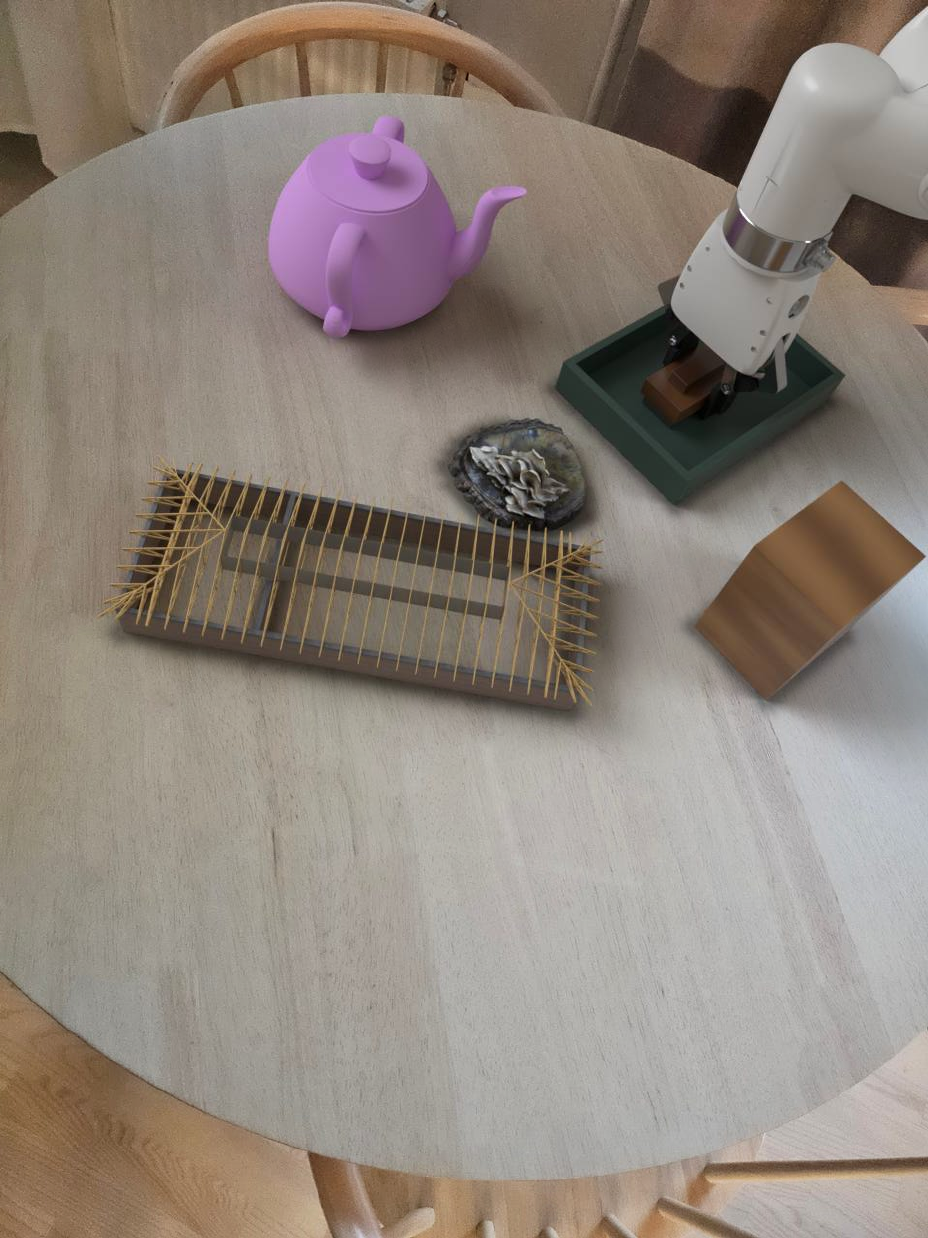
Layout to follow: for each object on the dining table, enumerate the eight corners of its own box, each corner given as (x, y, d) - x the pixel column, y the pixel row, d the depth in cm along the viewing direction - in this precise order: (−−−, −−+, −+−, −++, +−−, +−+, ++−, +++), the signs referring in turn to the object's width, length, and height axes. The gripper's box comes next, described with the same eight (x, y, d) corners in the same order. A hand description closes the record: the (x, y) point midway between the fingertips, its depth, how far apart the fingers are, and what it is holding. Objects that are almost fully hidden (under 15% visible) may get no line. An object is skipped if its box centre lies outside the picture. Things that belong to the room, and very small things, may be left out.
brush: (709, 357, 90) (725, 324, 86) (743, 387, 88) (761, 355, 85) (635, 401, 86) (649, 368, 82) (670, 434, 84) (686, 402, 81)
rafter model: (107, 639, 68) (89, 597, 63) (164, 481, 75) (152, 431, 70) (580, 723, 70) (601, 690, 65) (592, 562, 77) (612, 519, 72)
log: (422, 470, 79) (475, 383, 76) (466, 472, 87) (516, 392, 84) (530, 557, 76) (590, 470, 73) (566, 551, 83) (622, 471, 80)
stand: (773, 565, 80) (841, 479, 69) (844, 634, 77) (926, 556, 67) (693, 626, 76) (754, 545, 65) (766, 700, 73) (841, 629, 63)
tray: (711, 298, 94) (724, 270, 91) (828, 400, 90) (845, 374, 87) (554, 388, 86) (563, 361, 83) (674, 506, 81) (688, 481, 78)
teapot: (479, 399, 84) (506, 276, 72) (238, 341, 83) (226, 208, 71) (516, 236, 95) (546, 106, 83) (304, 184, 94) (302, 45, 82)
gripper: (890, 278, 70) (784, 436, 86) (727, 147, 75) (655, 319, 91) (827, 317, 67) (729, 473, 83) (662, 178, 72) (600, 350, 88)
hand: (692, 391), depth 87 cm, fingers closed on brush, 4 cm apart
